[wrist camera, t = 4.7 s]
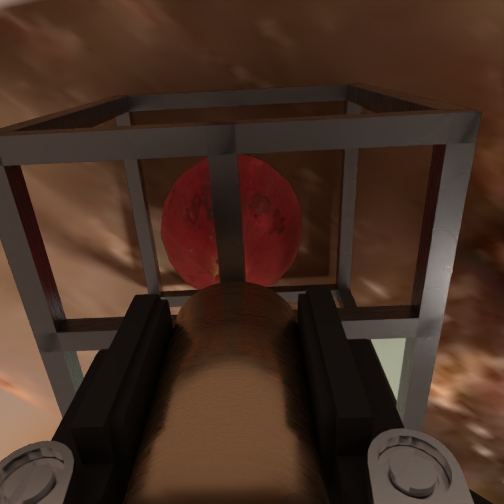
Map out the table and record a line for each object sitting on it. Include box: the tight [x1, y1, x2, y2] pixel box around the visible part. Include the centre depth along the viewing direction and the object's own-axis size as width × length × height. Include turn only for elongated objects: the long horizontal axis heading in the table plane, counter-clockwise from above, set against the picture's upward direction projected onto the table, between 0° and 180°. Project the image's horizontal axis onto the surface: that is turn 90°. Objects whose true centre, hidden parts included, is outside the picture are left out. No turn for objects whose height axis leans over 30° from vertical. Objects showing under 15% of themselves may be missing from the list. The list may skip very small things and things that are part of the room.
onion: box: [161, 154, 303, 290], centre depth 17 cm, size 6×6×8 cm
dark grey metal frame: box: [0, 83, 482, 504], centre depth 13 cm, size 10×10×15 cm
